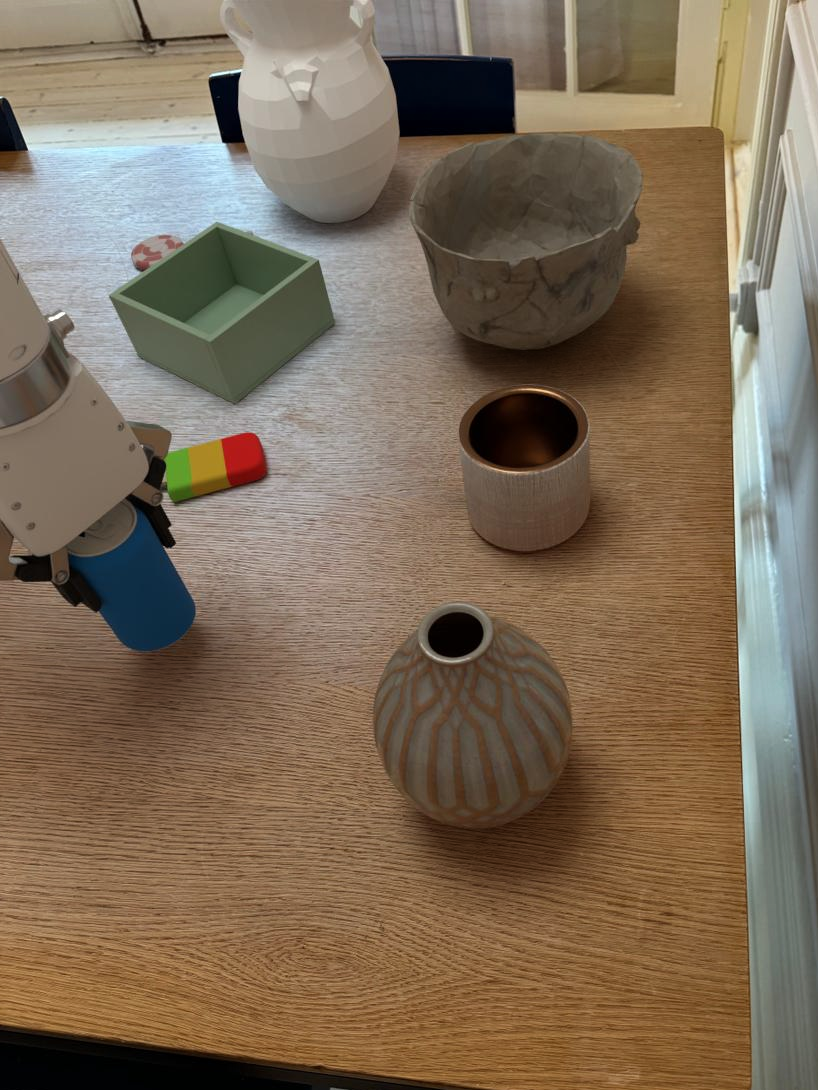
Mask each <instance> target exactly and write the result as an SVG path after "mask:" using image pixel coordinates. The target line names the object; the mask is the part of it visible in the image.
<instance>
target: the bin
mask: <svg viewBox="0 0 818 1090" xmlns="http://www.w3.org/2000/svg"><path fill="white" fill-rule="evenodd" d="M246 232H247V231H243V230H241V229H238V228H235V227H232V226H230V225H227V224H224V223H222V222H219V221H215V222H214V223H212V224H211V225H210V226H208V227H206V228H204V229H203V230H202V231H201V232H199V233H198V234H196V235H195V236H194V237H192V238H190V239H189V240H187V241H186V242H184V244H183V245H182V246H180V247H179V248H177V249H176V250H174V251H173V252H171V253H170V254H168V255H167V256H165V257H164V258H163V259H161V260H160V261H158V262H157V263H155V264H154V265H152V266H151V267H149V268H148V269H146V270H145V271H144V270H142V272H140V273H139V274H138V275H136V276H134V277H133V278H132V279H129V281H127V282H126V283H124V284H123V285H122V286H120V287H119V288H117V289H115V290H114V291H113V292H111V293H110V294H108V298H109V300H110V301H111V303H112V305H113V308H114V310H115V312H116V314H117V316H118V318H119V321H120V322H121V324H122V326H123V328H124V330H125V332H126V334H127V337H128V338H129V340H130V342H131V345H132V346H133V348H134V350H135V352H136V355H137V357H138V358H140V359H142V360H145V361H147V362H148V363H151V364H153V365H155V366H157V367H159V368H161V369H163V370H165V371H167V372H168V373H171V374H173V375H175V376H177V377H179V378H181V379H183V380H185V381H187V382H189V383H191V384H194V385H195V386H198V387H200V388H201V389H203V390H206V391H207V392H210V393H211V394H214V395H216V396H218V397H219V398H222V399H224V400H226V401H228V402H230V403H232V404H234V405H236V404H237V403H238V402H240V401H241V400H242V399H244V398H245V397H247V395H248V394H250V393H251V392H252V391H253V390H255V389H256V388H257V387H258V386H259V385H261V384H262V383H263V382H264V381H266V380H267V379H268V378H270V376H272V375H273V374H274V373H276V372H277V371H278V370H279V369H280V368H282V367H283V366H284V365H285V364H287V363H288V362H290V361H291V359H293V358H294V357H295V356H296V355H298V354H299V353H300V352H301V351H303V350H304V349H305V348H306V347H308V346H309V345H310V344H311V343H313V342H314V341H315V340H317V338H319V337H320V336H321V335H323V334H324V333H325V332H327V330H329V329H330V328H331V327H332V326H334V325H335V324H336V321H335V316H334V313H333V308H332V305H331V301H330V296H329V293H328V290H327V286H326V282H325V278H324V274H323V271H322V267H321V262H320V260H319V258H315V257H312V256H310V255H307V254H305V253H303V252H299V251H297V250H293V249H291V248H289V247H286V246H283V245H280V244H278V243H275V242H273V241H270V240H267V239H264V238H262V237H260V236H257V235H255V234H253V235H251V234H249V233H246Z"/></svg>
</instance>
